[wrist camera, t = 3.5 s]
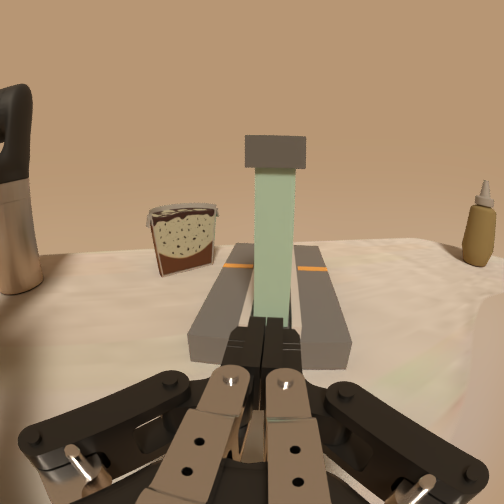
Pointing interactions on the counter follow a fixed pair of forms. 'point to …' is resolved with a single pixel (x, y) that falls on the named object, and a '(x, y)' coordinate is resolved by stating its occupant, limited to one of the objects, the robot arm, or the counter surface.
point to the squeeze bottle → (480, 229)
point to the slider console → (300, 315)
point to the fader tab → (274, 218)
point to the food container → (183, 236)
